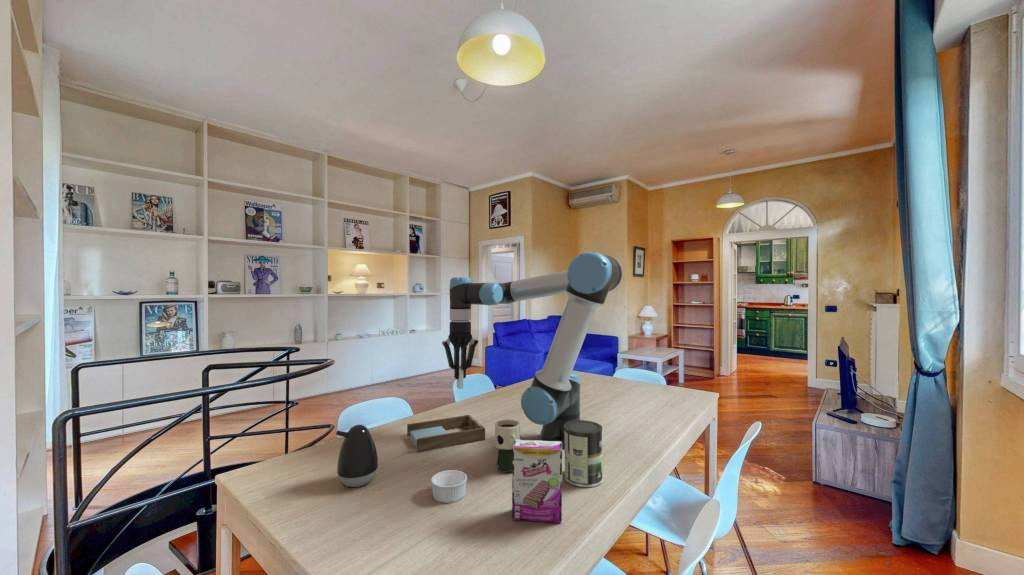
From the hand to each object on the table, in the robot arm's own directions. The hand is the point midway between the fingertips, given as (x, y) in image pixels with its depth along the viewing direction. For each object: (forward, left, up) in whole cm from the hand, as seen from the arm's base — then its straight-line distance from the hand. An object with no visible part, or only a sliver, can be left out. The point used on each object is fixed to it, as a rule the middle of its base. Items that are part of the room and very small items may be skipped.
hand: (460, 387), depth 137 cm
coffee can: (-45, -20, -17) cm, 52 cm away
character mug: (-31, -4, -17) cm, 36 cm away
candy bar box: (-55, 0, -17) cm, 58 cm away
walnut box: (0, +5, -17) cm, 18 cm away
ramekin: (-37, +15, -17) cm, 44 cm away
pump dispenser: (-20, +35, -17) cm, 44 cm away
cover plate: (0, +11, -17) cm, 20 cm away
